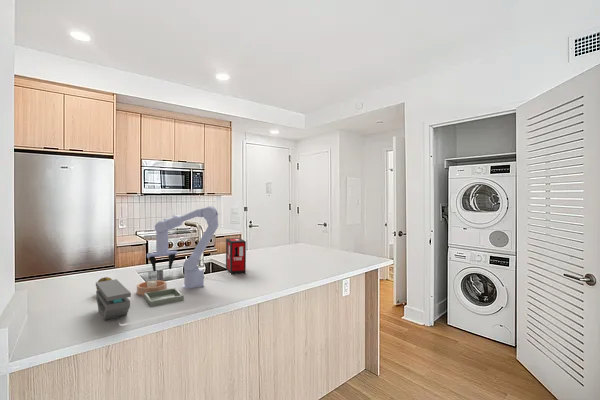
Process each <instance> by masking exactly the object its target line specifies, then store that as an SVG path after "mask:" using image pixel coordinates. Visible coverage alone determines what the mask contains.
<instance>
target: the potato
mask: <svg viewBox="0 0 600 400" xmlns="http://www.w3.org/2000/svg"><path fill="white" fill-rule="evenodd" d="M108 280H113V279H112V278H111V277H108V276H104V277H102V278H100V279H98V280H97V282H102V281H108ZM95 287H96V286H95ZM97 290H98V288H97V287H96V291H97Z"/></svg>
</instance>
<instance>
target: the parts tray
mask: <svg viewBox="0 0 600 400" xmlns="http://www.w3.org/2000/svg"><path fill="white" fill-rule="evenodd" d="M184 297H185V296H184V294H183V293H182V292H181V291H179V290H178V289H177V288H176V287H172V288H167V289H166V290H160V291H154V292H148V293H144V296H143V298H144V299H145V301H146V303H148V305H149V306H150V307H154V306H160V305H164V304H165V305H166V304H170V303H176V302H178V301H179V302H180V301H184V300H185V298H184Z"/></svg>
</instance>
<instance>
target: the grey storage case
mask: <svg viewBox="0 0 600 400" xmlns="http://www.w3.org/2000/svg"><path fill="white" fill-rule="evenodd" d="M95 287H97V288H98V290H97V288H96V294H95V295H96V302H97V309H98V313H99V315H100V316H101V318H102V320H103V321H108V320H112V319H116V318H118V317H120V316H121V317H122V316H125V315H128V313H129V310H130V308H131V300H130V299H129V298H131V296H132V293H131V292H130V290H128V289H127V287H125V286H124V285H123V284H122V283H121V282H120V281H119V280H118V279H112V280H108V281H102V282H98V281H96V282H95Z"/></svg>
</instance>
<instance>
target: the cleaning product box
mask: <svg viewBox="0 0 600 400" xmlns="http://www.w3.org/2000/svg"><path fill="white" fill-rule="evenodd" d="M246 243H247V241H245V240H244V239H242V238H240V237H233V238H231V237H230V238H225V269H226V270H227V272H228V273H229V272H230V273H231V274H230V273H229V274H230V275H232V274H233V275H241V273H243V274H246V271H247V270H246V269H247V268H246V267H247V266H246V263H247V262H246V259H247V257H246V255H247V253H246V251H247V249H246V248H247V245H246Z"/></svg>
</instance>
